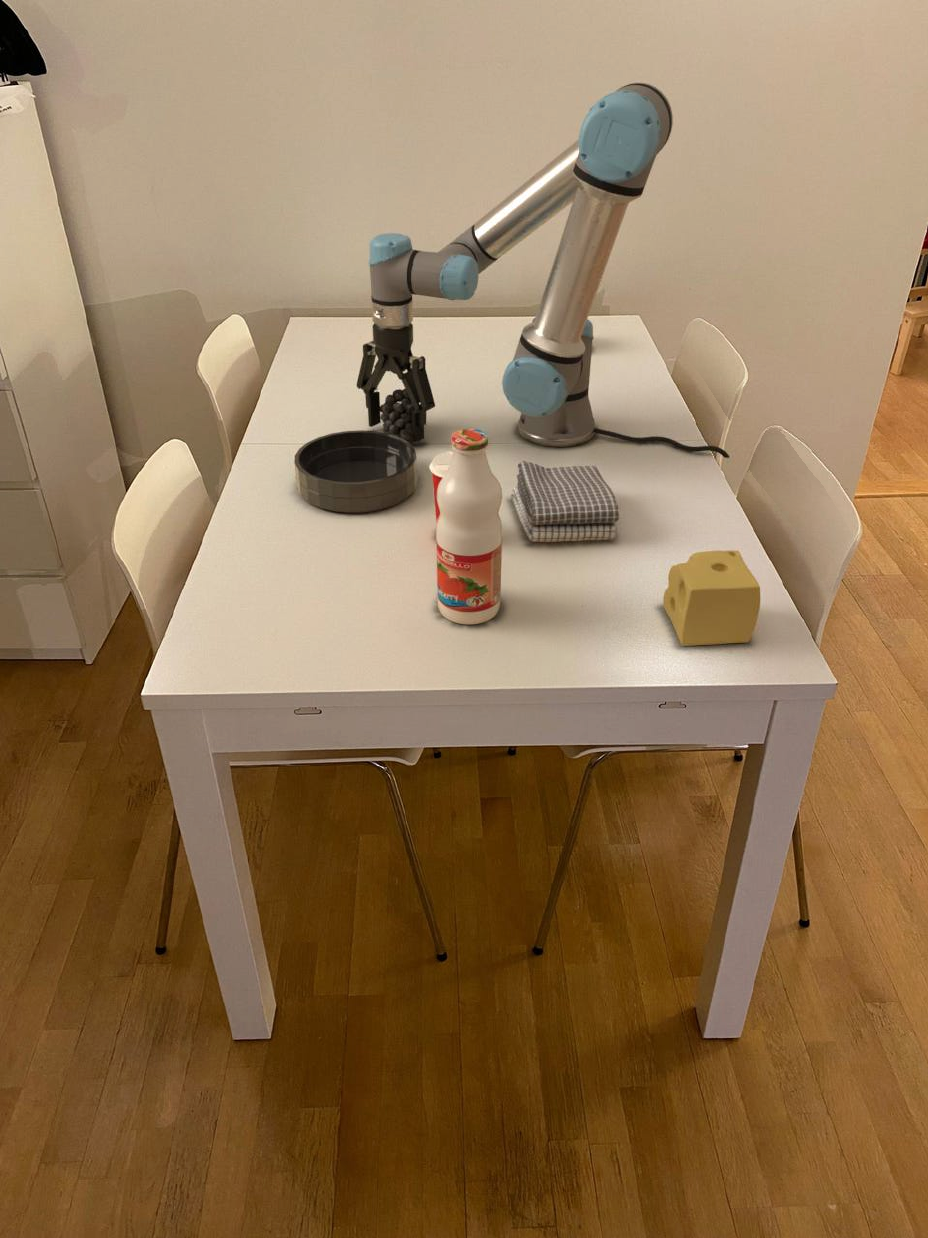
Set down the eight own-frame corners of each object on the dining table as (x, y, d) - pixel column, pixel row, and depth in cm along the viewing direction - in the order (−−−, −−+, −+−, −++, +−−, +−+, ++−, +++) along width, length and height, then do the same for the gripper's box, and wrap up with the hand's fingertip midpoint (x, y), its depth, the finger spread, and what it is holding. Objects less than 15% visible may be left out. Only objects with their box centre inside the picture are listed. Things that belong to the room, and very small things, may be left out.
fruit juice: (513, 608, 149) (519, 436, 132) (467, 634, 143) (468, 457, 127) (470, 583, 154) (470, 415, 138) (424, 607, 149) (419, 434, 133)
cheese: (661, 607, 149) (669, 550, 143) (731, 604, 150) (742, 547, 144) (679, 649, 140) (688, 590, 135) (754, 645, 141) (766, 586, 135)
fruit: (402, 410, 186) (415, 378, 198) (362, 421, 188) (377, 388, 200) (418, 450, 190) (430, 416, 202) (378, 461, 193) (393, 426, 205)
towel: (529, 550, 162) (531, 507, 158) (509, 497, 177) (510, 457, 173) (619, 543, 164) (624, 501, 160) (592, 491, 179) (596, 451, 174)
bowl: (441, 481, 182) (440, 451, 179) (360, 527, 168) (357, 496, 165) (355, 449, 193) (353, 420, 190) (272, 490, 179) (269, 460, 176)
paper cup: (483, 529, 168) (484, 453, 160) (468, 551, 162) (469, 474, 154) (440, 521, 170) (438, 446, 162) (424, 543, 164) (421, 466, 156)
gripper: (333, 314, 188) (340, 422, 201) (427, 342, 176) (429, 455, 189) (360, 304, 193) (366, 410, 205) (454, 331, 181) (453, 442, 194)
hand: (396, 432), depth 197 cm, fingers closed on fruit, 11 cm apart
